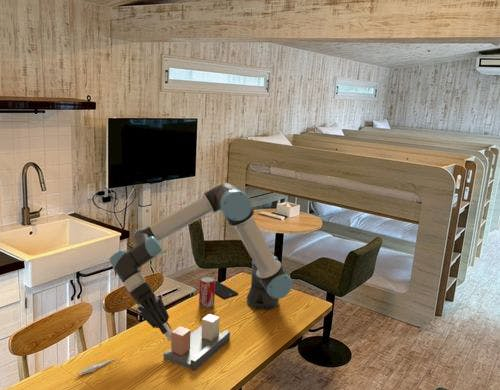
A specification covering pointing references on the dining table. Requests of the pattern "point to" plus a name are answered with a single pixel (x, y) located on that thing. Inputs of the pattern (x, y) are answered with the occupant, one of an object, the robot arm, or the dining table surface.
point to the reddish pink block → (180, 340)
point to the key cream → (210, 327)
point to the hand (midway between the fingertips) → (172, 339)
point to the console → (198, 350)
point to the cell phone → (224, 291)
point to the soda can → (207, 292)
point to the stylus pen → (93, 367)
